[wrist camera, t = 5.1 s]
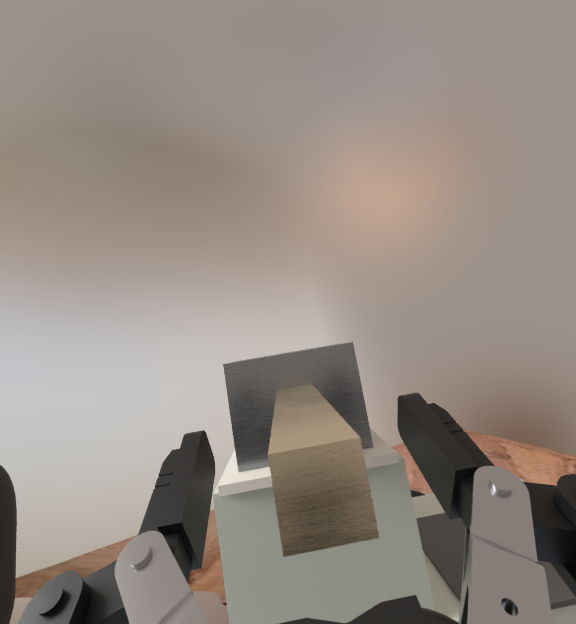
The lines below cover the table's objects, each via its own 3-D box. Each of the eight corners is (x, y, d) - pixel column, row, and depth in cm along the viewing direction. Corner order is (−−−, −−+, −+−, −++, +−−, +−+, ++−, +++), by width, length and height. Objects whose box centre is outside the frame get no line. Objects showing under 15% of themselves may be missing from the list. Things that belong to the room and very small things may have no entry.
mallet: (249, 440, 26) (238, 361, 27) (349, 422, 26) (334, 344, 27) (157, 693, 7) (127, 385, 8) (532, 614, 7) (461, 327, 8)
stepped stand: (288, 756, 28) (241, 427, 31) (571, 692, 29) (492, 382, 33) (295, 1165, 14) (209, 487, 18) (841, 1009, 15) (649, 404, 19)
